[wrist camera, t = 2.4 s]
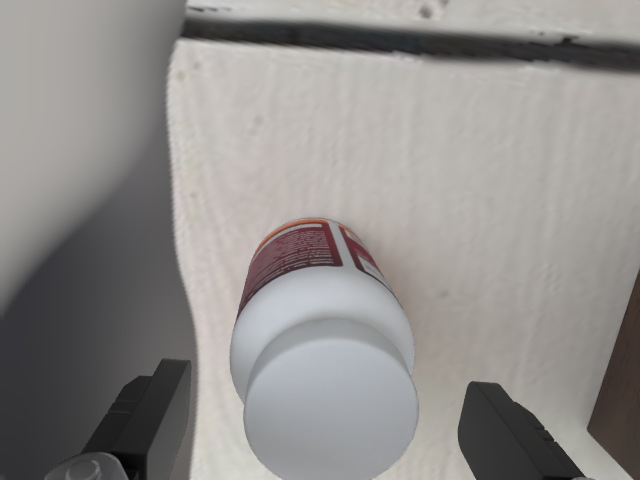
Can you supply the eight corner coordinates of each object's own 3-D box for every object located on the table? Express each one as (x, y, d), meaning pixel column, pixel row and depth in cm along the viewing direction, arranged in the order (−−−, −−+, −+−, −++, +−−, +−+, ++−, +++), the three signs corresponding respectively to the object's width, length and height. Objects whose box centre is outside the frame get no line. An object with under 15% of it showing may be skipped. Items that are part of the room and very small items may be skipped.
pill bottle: (237, 315, 22) (187, 494, 11) (265, 201, 21) (237, 284, 10) (352, 340, 23) (405, 529, 12) (387, 232, 21) (480, 340, 11)
